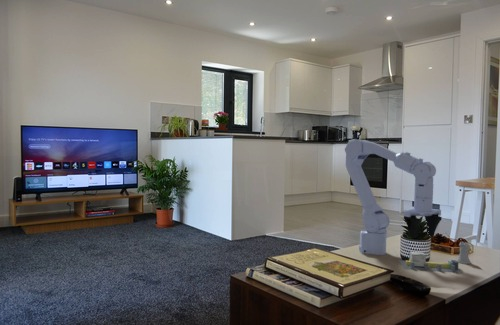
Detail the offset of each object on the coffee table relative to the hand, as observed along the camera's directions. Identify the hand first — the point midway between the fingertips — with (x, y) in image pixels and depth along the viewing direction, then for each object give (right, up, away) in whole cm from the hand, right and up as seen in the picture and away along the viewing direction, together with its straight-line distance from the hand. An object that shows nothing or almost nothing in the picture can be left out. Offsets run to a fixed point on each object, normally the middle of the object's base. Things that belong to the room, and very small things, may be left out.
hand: (421, 237), depth 126 cm
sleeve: (-4, -8, -5) cm, 10 cm away
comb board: (0, -10, -5) cm, 11 cm away
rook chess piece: (+14, -10, 0) cm, 18 cm away
